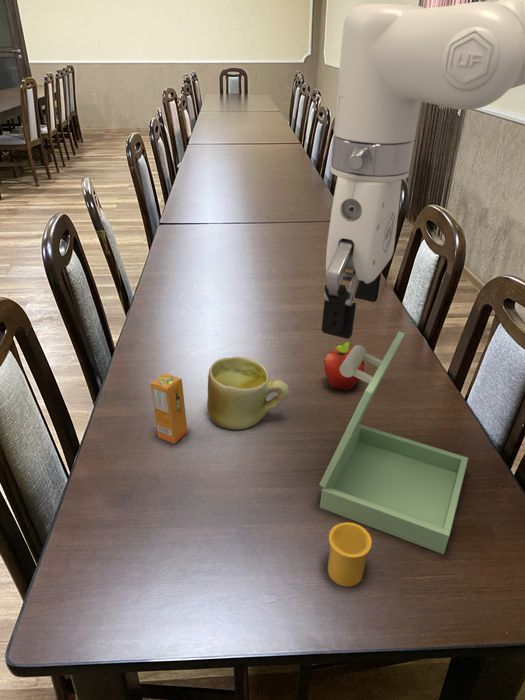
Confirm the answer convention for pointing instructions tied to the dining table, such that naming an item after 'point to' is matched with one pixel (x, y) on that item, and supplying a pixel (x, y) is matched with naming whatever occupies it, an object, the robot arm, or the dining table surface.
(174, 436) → the supplement box
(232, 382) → the mug
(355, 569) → the cup
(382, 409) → the dining table surface
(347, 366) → the lid
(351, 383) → the apple
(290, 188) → the dining table surface
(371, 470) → the green tray box
